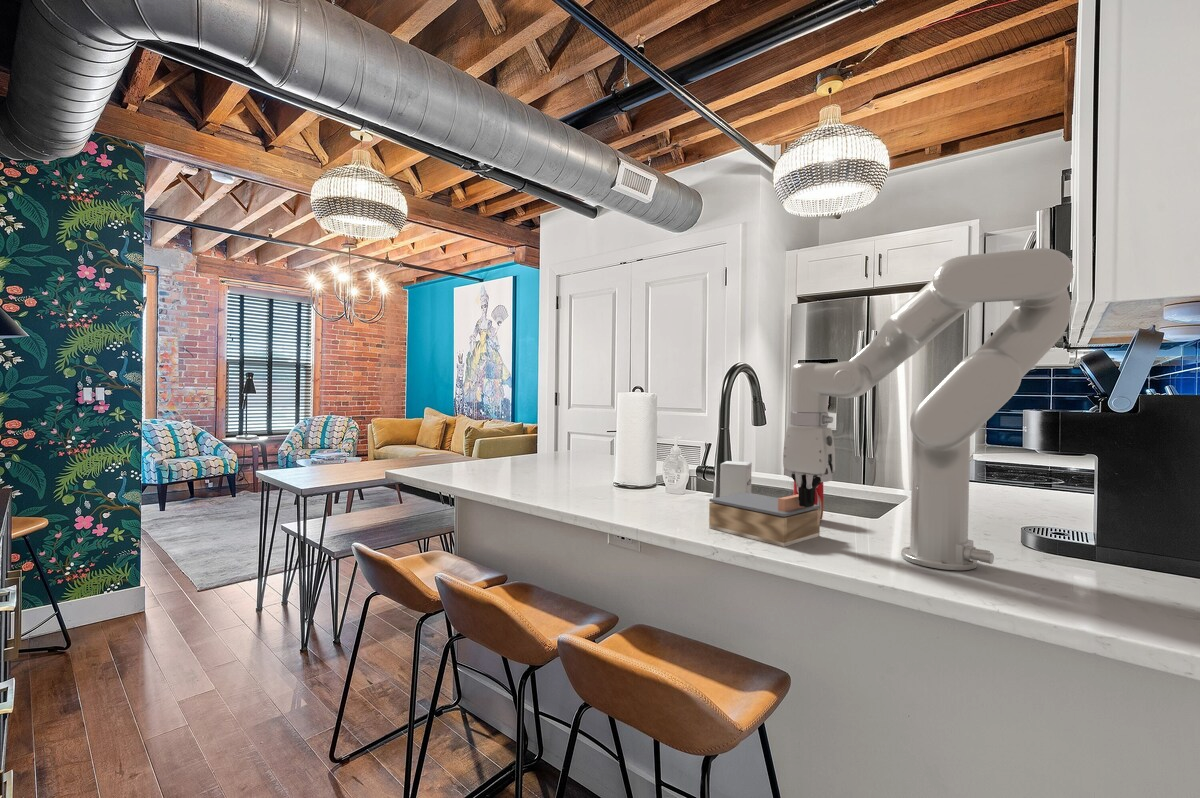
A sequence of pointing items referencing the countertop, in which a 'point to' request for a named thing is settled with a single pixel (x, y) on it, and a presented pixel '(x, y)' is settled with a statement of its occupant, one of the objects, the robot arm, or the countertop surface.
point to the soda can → (817, 496)
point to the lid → (765, 503)
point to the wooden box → (765, 524)
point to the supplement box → (735, 478)
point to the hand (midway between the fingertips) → (806, 505)
